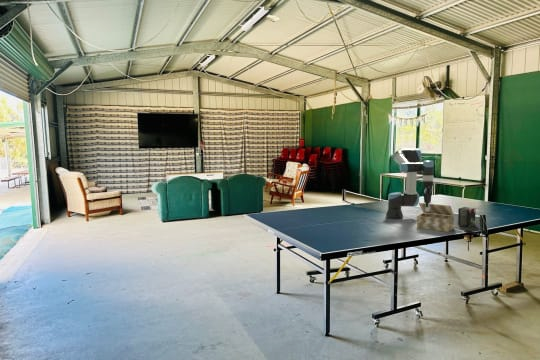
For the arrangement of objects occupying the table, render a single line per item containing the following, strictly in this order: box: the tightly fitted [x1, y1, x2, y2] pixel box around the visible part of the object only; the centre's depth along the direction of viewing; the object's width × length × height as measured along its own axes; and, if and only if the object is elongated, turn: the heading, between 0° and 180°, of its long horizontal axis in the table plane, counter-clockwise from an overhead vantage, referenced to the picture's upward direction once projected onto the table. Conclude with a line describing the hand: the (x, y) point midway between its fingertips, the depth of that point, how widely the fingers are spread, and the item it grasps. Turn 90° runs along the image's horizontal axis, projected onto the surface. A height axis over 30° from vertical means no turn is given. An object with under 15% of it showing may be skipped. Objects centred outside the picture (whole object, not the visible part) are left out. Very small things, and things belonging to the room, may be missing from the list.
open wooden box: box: [416, 212, 455, 233], centre depth 286 cm, size 24×14×10 cm, turn 47°
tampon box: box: [457, 206, 477, 228], centre depth 291 cm, size 11×9×15 cm
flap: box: [418, 202, 455, 217], centre depth 286 cm, size 24×14×1 cm
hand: (427, 211), depth 271 cm, fingers closed
